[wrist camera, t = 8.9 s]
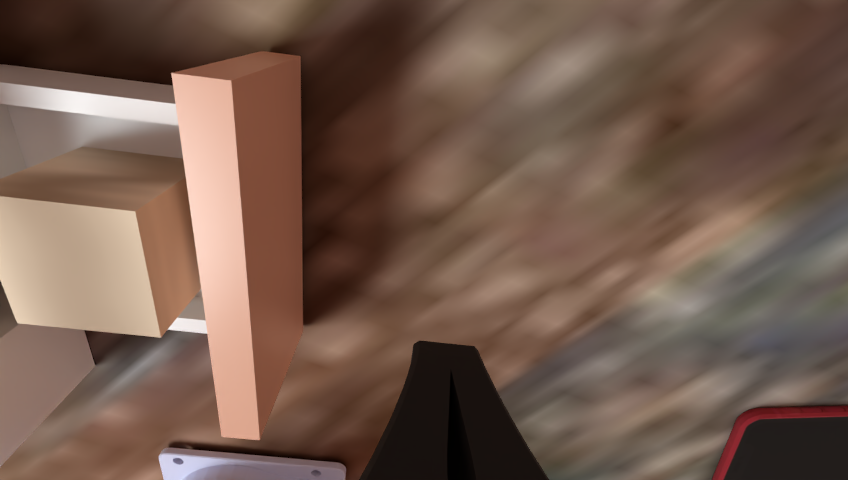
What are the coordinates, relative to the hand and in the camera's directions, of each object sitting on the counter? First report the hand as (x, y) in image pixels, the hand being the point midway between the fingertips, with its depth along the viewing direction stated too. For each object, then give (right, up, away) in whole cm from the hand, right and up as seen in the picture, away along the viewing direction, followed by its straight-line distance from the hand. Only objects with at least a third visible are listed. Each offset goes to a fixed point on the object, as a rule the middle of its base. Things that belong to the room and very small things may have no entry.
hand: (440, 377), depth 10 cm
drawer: (-10, +5, +6) cm, 13 cm away
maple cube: (-10, +4, +5) cm, 12 cm away
